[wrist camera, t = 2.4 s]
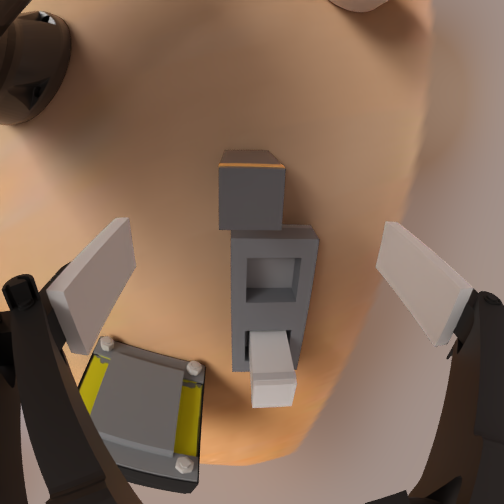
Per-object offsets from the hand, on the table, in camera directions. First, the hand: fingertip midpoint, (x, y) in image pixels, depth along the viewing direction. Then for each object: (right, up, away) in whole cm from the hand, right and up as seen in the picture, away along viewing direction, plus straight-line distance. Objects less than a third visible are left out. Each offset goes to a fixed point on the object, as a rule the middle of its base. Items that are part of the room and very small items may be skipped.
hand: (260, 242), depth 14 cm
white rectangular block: (+1, -11, +24) cm, 27 cm away
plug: (-1, +8, +16) cm, 18 cm away
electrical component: (-17, -19, +28) cm, 38 cm away
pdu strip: (+1, -6, +23) cm, 24 cm away
